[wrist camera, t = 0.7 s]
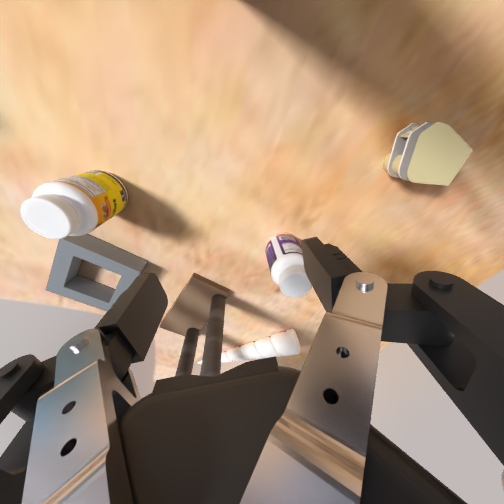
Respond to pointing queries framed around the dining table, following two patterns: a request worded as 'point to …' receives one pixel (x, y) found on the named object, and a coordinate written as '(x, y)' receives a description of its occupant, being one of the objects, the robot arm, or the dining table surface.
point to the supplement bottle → (74, 204)
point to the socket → (96, 253)
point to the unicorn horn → (264, 348)
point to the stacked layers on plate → (427, 154)
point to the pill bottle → (287, 265)
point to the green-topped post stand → (199, 323)
